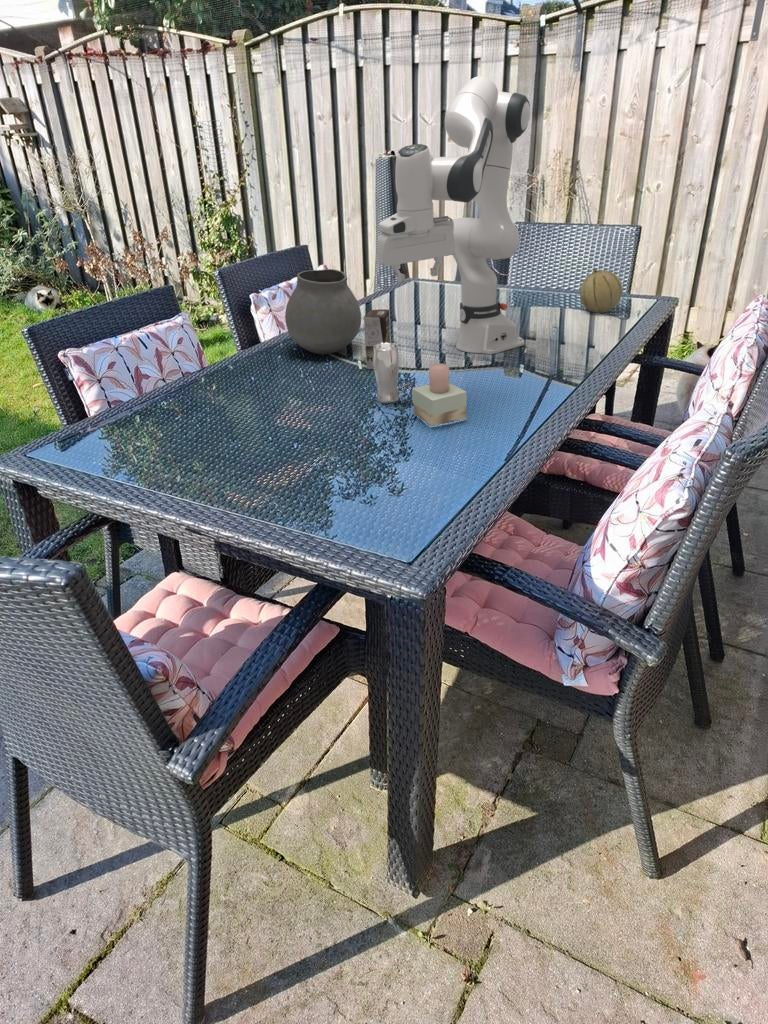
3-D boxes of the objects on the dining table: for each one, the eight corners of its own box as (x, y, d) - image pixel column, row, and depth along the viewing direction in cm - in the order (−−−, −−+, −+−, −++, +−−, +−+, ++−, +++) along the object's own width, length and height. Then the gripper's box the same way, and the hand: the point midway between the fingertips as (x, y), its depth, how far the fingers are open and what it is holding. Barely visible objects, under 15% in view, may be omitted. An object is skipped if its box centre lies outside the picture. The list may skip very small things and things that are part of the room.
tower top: (445, 394, 184) (445, 380, 182) (466, 406, 176) (466, 391, 174) (412, 402, 180) (411, 388, 178) (432, 415, 173) (432, 400, 171)
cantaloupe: (624, 316, 250) (630, 273, 243) (583, 318, 251) (587, 275, 243) (613, 305, 263) (618, 264, 255) (574, 307, 264) (577, 266, 256)
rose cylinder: (443, 384, 179) (443, 362, 176) (452, 390, 175) (452, 367, 172) (426, 388, 178) (425, 365, 175) (435, 394, 174) (434, 371, 171)
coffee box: (386, 369, 213) (384, 317, 205) (366, 369, 214) (362, 316, 206) (392, 360, 221) (390, 308, 213) (372, 359, 222) (369, 308, 214)
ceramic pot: (318, 368, 217) (310, 286, 205) (275, 351, 233) (265, 274, 221) (377, 349, 231) (373, 271, 218) (333, 335, 247) (326, 261, 234)
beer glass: (403, 395, 194) (402, 343, 187) (395, 405, 189) (393, 351, 181) (380, 393, 196) (377, 341, 189) (371, 403, 191) (368, 349, 183)
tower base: (448, 408, 186) (448, 394, 184) (466, 422, 178) (466, 407, 176) (414, 416, 183) (413, 401, 181) (431, 430, 175) (430, 415, 173)
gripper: (447, 213, 175) (448, 269, 183) (372, 224, 169) (376, 282, 176) (459, 216, 170) (459, 274, 178) (383, 228, 164) (386, 288, 171)
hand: (417, 278), depth 177 cm, fingers open, 8 cm apart
